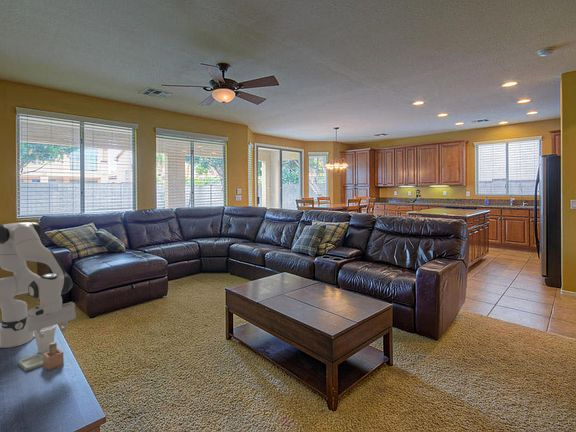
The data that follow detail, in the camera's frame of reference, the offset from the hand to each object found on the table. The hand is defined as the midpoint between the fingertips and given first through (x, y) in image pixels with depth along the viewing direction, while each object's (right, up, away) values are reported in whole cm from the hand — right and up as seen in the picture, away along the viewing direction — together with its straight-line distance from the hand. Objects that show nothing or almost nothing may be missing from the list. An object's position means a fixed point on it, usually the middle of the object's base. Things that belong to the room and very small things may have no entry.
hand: (52, 333), depth 156 cm
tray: (-12, -17, +3) cm, 21 cm away
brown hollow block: (0, -17, +1) cm, 17 cm away
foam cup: (-17, -16, +17) cm, 28 cm away
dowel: (0, -16, +1) cm, 16 cm away
